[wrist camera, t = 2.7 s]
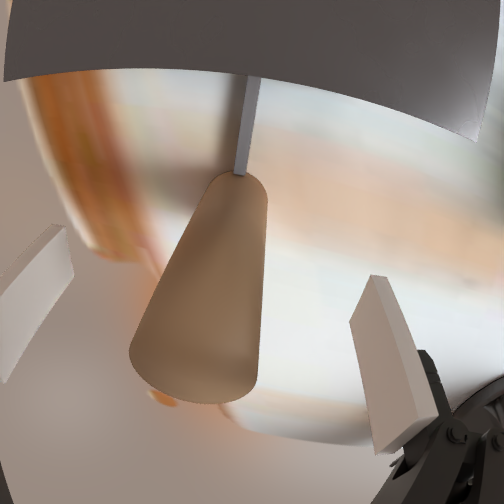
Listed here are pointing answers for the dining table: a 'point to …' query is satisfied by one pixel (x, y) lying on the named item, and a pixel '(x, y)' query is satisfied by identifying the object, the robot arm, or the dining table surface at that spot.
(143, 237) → the dining table surface
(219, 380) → the tethered block
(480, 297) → the dining table surface
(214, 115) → the dining table surface
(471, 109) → the lane shelf
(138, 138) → the dining table surface
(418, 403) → the robot arm
